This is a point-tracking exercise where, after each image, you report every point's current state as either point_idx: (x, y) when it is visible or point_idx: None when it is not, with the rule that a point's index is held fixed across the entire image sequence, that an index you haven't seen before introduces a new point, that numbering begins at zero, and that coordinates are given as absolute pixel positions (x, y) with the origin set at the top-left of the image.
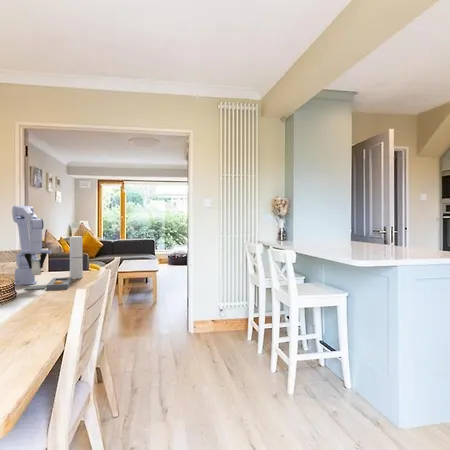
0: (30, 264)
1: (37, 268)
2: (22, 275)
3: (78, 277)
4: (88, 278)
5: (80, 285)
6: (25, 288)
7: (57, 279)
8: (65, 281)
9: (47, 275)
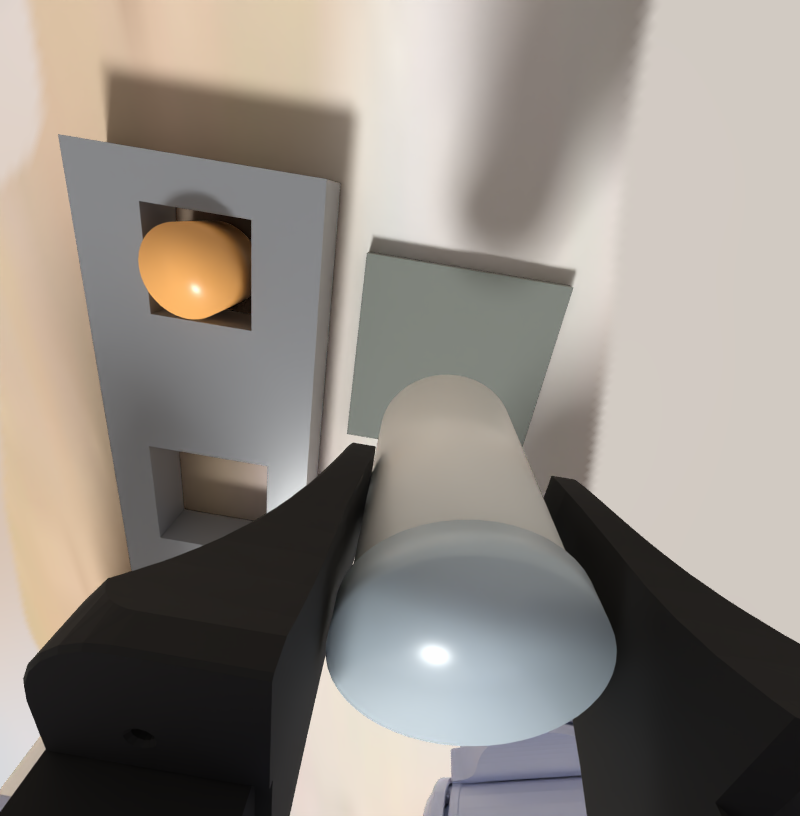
0: (582, 530)
1: (431, 425)
2: None
3: None
4: (58, 606)
5: (27, 321)
6: (556, 325)
7: None
8: (140, 362)
9: (370, 792)
